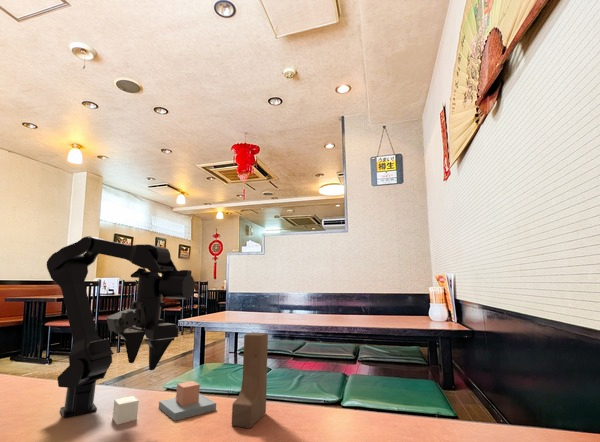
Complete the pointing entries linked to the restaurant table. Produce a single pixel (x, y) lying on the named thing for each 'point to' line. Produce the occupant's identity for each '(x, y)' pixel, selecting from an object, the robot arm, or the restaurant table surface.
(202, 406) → the build plate
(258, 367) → the wooden block
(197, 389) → the terracotta brick
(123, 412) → the cream brick
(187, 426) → the restaurant table surface
